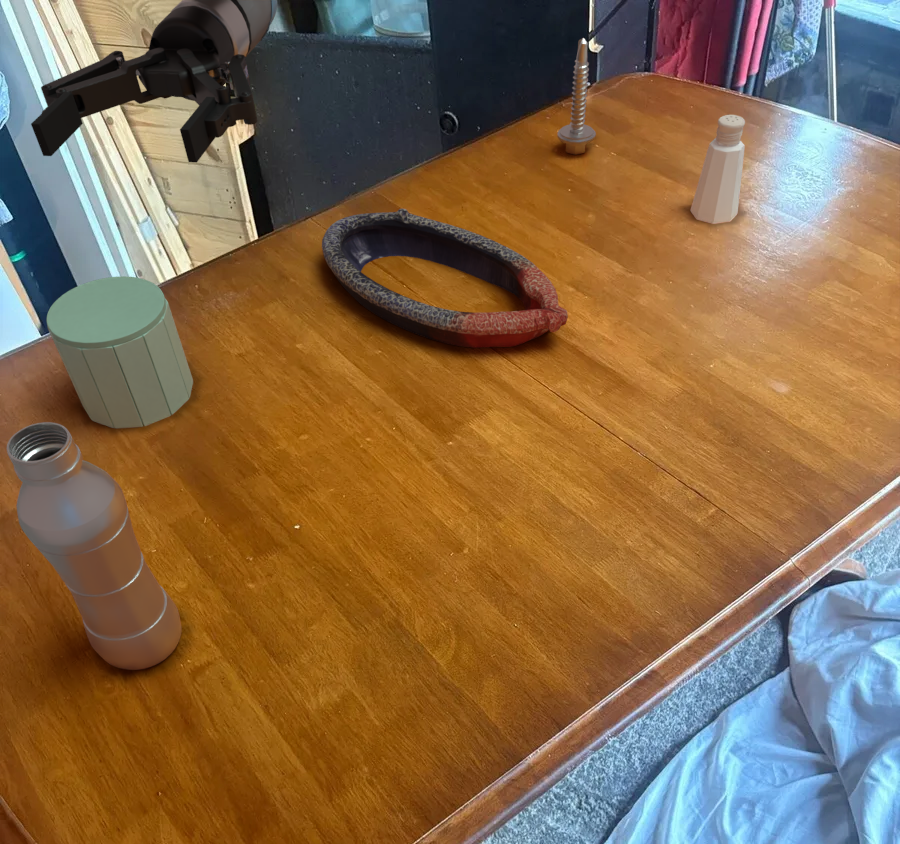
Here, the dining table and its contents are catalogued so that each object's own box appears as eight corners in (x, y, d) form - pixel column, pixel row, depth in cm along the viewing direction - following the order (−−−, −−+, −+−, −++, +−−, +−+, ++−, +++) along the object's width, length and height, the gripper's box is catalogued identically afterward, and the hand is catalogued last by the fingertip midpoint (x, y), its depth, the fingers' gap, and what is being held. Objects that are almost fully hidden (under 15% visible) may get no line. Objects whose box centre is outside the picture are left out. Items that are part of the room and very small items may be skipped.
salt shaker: (711, 236, 100) (731, 135, 92) (678, 216, 103) (695, 117, 95) (746, 221, 102) (769, 120, 94) (713, 202, 105) (732, 103, 97)
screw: (570, 138, 117) (601, 147, 115) (549, 152, 115) (581, 162, 113) (577, 27, 107) (611, 35, 105) (554, 40, 105) (589, 48, 103)
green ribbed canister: (64, 416, 85) (21, 325, 77) (134, 357, 90) (100, 266, 82) (148, 446, 81) (112, 354, 74) (215, 382, 87) (188, 291, 79)
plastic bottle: (149, 695, 64) (38, 495, 49) (81, 659, 66) (-45, 457, 51) (206, 632, 68) (120, 427, 52) (140, 599, 70) (38, 394, 54)
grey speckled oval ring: (390, 227, 104) (385, 185, 101) (601, 324, 91) (606, 280, 87) (289, 284, 98) (281, 241, 94) (501, 399, 84) (502, 354, 80)
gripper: (324, 90, 91) (261, 192, 78) (97, 83, 94) (0, 180, 81) (313, 6, 85) (242, 101, 72) (71, 2, 88) (-39, 92, 75)
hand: (113, 143), depth 76 cm, fingers open, 13 cm apart
